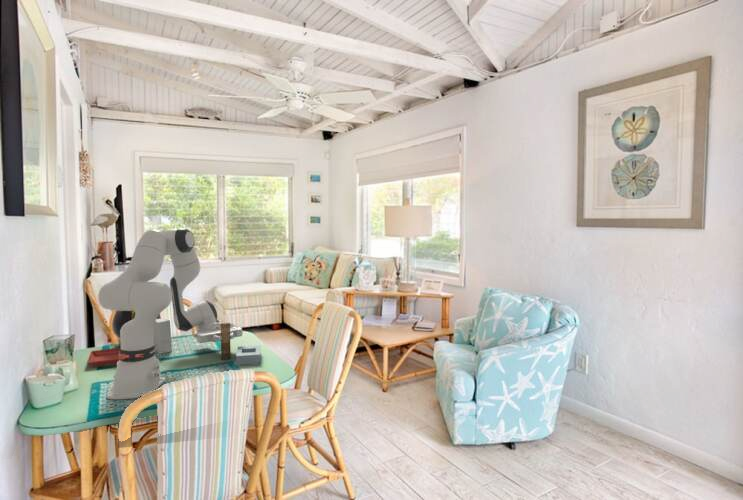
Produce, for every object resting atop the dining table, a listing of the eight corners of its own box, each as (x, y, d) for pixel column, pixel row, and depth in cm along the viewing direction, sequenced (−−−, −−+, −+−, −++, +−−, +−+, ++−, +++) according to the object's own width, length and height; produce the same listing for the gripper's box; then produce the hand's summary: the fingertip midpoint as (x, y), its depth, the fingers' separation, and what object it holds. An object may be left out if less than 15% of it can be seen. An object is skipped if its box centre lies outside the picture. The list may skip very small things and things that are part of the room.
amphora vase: (141, 352, 211) (140, 292, 209) (102, 348, 215) (99, 290, 213) (171, 339, 232) (169, 285, 230) (134, 336, 236) (132, 283, 234)
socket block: (260, 363, 196) (260, 354, 196) (236, 365, 194) (236, 356, 194) (260, 353, 210) (260, 345, 210) (238, 355, 208) (237, 346, 207)
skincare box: (172, 351, 212) (171, 320, 211) (158, 354, 208) (157, 322, 207) (165, 347, 218) (165, 317, 217) (152, 350, 214) (151, 319, 213)
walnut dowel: (230, 359, 201) (229, 324, 200) (220, 360, 200) (220, 324, 199) (230, 356, 205) (230, 322, 204) (221, 357, 204) (221, 322, 203)
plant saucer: (91, 357, 203) (91, 350, 203) (136, 352, 211) (136, 345, 211) (87, 370, 187) (86, 362, 187) (136, 363, 195) (135, 356, 195)
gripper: (191, 328, 205) (202, 335, 194) (234, 322, 218) (247, 327, 207) (191, 342, 205) (203, 349, 195) (235, 334, 218) (247, 341, 208)
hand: (226, 338), depth 201 cm, fingers closed on walnut dowel, 4 cm apart
